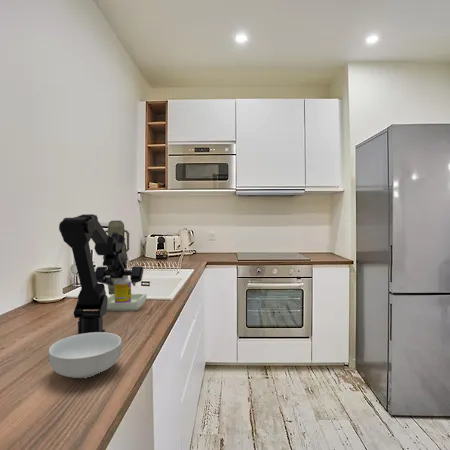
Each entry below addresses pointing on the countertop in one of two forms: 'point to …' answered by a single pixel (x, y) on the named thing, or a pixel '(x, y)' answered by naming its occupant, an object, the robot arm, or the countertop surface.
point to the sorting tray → (135, 304)
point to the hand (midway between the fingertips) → (123, 285)
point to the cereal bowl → (85, 354)
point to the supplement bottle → (122, 290)
